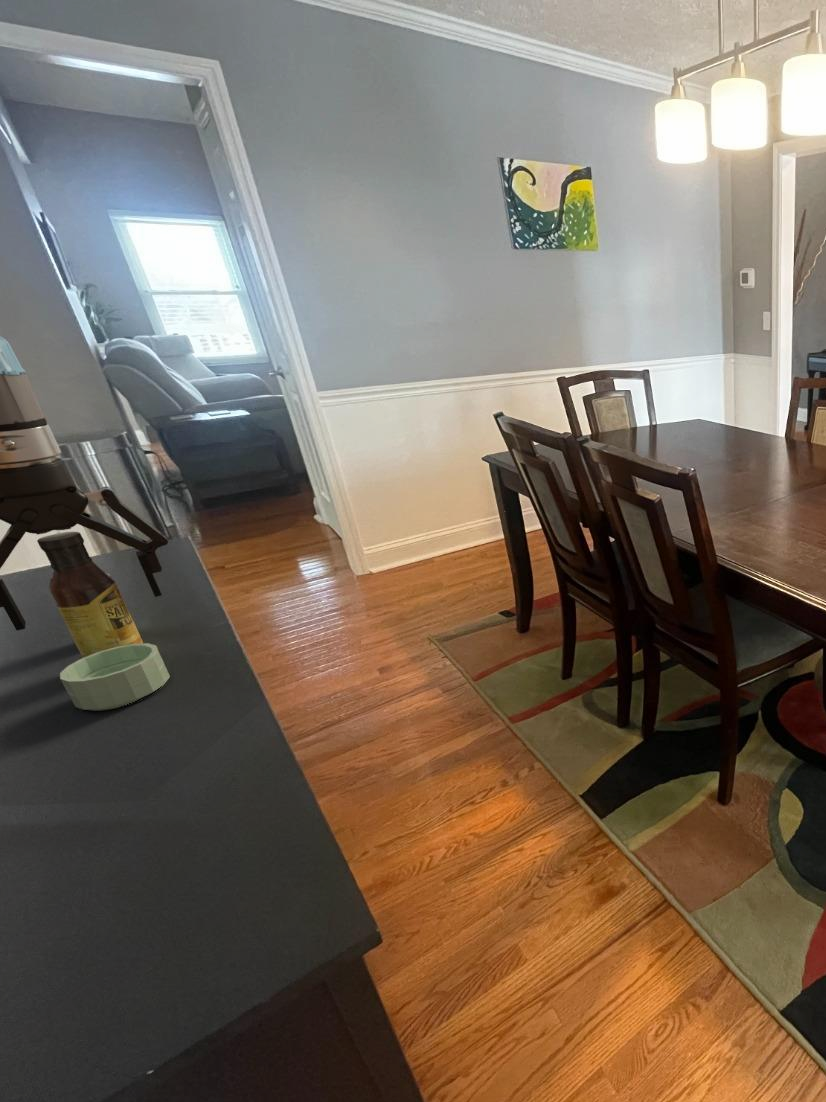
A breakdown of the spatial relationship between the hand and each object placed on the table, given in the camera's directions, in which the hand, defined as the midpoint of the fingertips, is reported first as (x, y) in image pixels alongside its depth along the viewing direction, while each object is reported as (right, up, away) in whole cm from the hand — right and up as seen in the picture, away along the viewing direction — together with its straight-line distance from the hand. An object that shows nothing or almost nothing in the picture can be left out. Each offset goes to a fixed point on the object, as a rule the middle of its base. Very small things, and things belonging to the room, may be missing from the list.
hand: (93, 609), depth 84 cm
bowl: (+8, -11, -4) cm, 14 cm away
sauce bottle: (0, -8, +4) cm, 9 cm away
